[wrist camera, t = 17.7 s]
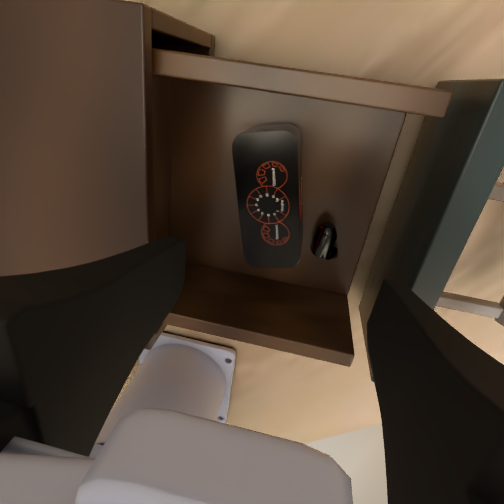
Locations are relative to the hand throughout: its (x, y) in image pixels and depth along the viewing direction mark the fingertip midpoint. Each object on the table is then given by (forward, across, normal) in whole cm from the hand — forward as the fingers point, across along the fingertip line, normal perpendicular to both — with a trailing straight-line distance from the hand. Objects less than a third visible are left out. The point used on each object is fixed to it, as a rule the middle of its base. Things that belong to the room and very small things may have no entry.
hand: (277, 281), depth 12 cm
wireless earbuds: (+7, 0, -1) cm, 7 cm away
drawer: (+8, -2, -1) cm, 8 cm away
